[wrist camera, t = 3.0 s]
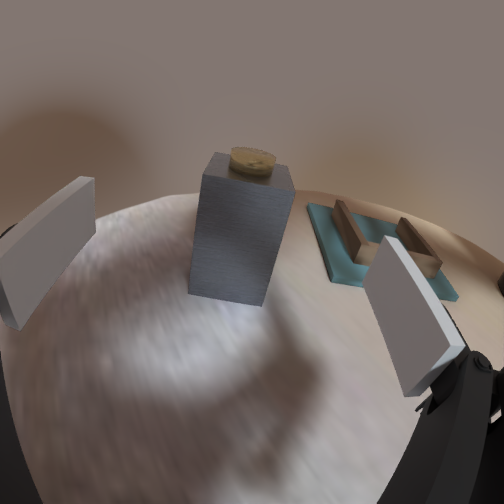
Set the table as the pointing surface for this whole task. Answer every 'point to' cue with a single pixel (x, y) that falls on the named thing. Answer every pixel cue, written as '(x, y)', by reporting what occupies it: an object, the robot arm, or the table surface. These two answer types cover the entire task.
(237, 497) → the table surface
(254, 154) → the grey block with knob
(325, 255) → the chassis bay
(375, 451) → the table surface
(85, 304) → the table surface
